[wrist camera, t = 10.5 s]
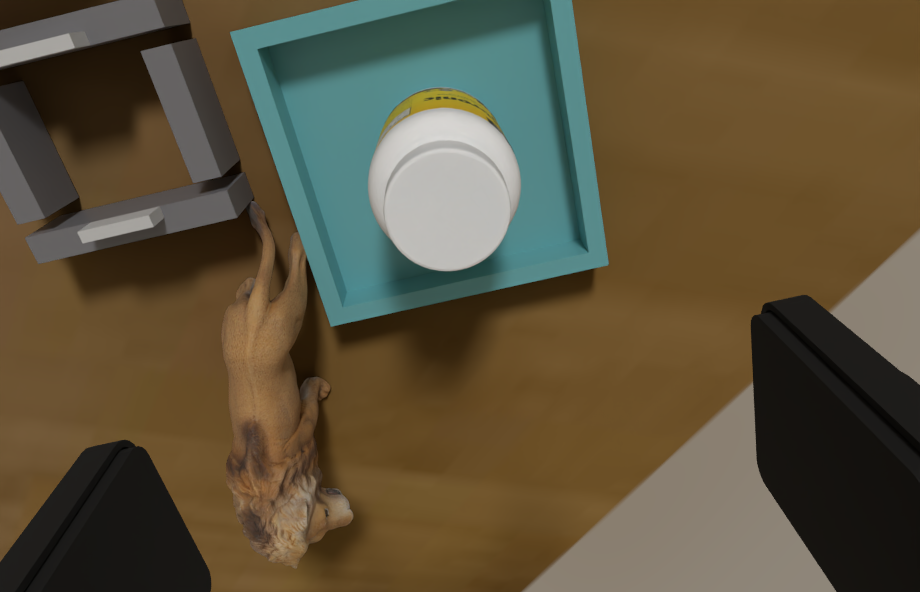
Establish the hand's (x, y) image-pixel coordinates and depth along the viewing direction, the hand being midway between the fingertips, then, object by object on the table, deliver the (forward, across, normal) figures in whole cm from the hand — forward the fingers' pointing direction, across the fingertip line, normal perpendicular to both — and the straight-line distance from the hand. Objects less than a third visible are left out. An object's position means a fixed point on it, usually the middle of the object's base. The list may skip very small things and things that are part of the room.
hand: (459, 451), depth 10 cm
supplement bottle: (+22, 0, 0) cm, 22 cm away
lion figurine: (+22, +9, +8) cm, 25 cm away
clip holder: (+22, +13, -4) cm, 26 cm away
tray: (+22, 0, 0) cm, 22 cm away
